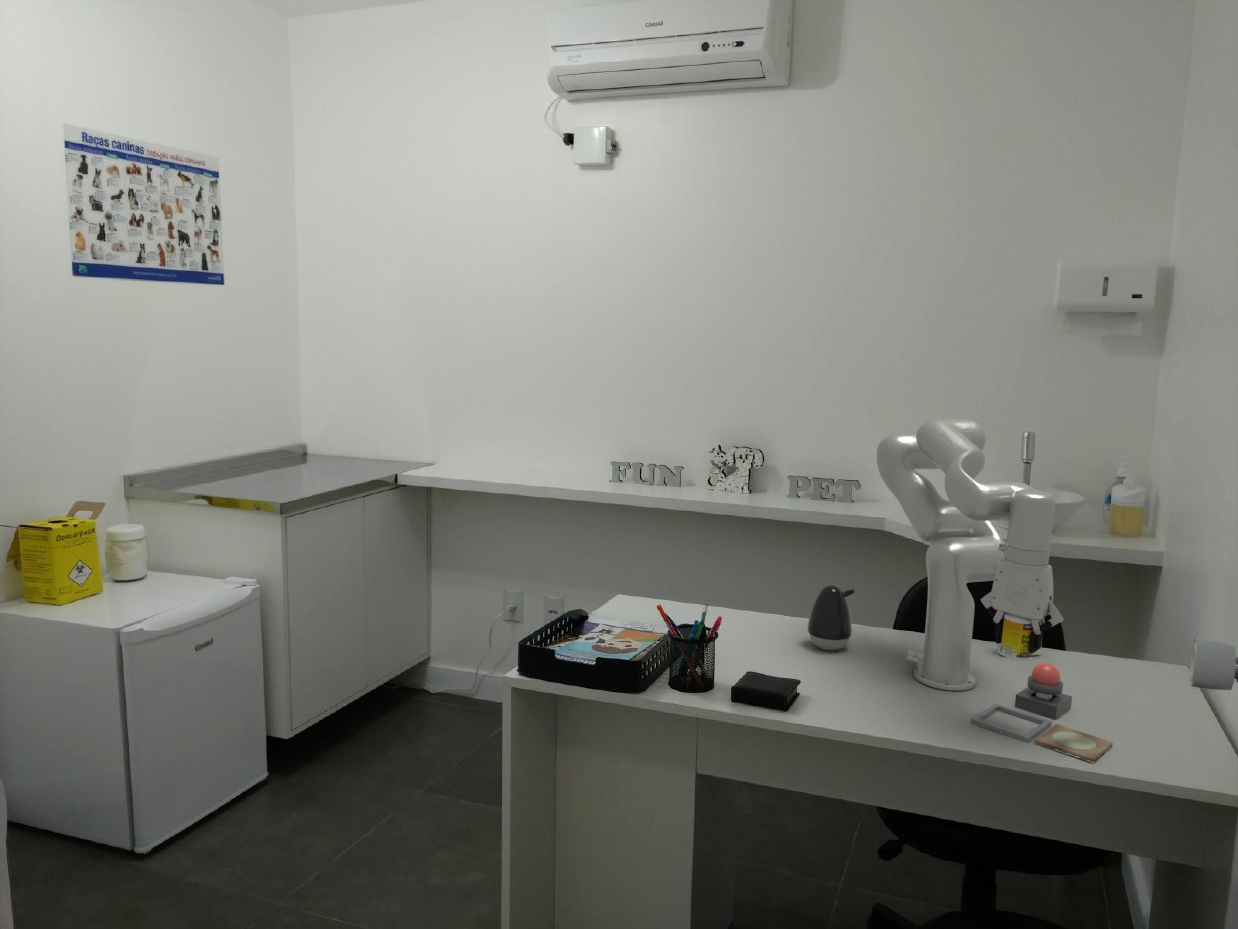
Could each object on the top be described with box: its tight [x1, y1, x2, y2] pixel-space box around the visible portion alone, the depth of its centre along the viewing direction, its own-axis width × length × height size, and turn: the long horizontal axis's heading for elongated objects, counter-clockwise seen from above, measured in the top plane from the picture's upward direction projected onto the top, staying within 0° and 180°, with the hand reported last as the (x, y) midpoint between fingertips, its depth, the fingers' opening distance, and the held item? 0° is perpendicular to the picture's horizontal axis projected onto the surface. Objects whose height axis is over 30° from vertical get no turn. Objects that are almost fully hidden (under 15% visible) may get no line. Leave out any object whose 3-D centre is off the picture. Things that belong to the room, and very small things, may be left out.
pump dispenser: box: [807, 584, 856, 651], centre depth 210 cm, size 10×10×15 cm
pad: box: [1034, 723, 1114, 763], centre depth 163 cm, size 10×10×1 cm
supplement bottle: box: [1000, 613, 1033, 661], centre depth 169 cm, size 6×6×10 cm
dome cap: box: [1026, 662, 1064, 701], centre depth 179 cm, size 6×6×8 cm
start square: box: [970, 702, 1053, 743], centre depth 171 cm, size 11×11×1 cm
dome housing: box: [1014, 686, 1073, 720], centre depth 179 cm, size 8×8×2 cm
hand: (1016, 645), depth 169 cm, fingers closed on supplement bottle, 5 cm apart
